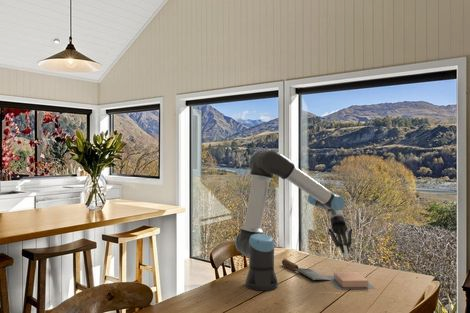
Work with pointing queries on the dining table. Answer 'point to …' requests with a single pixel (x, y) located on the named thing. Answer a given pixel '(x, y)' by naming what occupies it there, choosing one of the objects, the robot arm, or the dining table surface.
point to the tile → (351, 279)
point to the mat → (346, 288)
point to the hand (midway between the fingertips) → (347, 258)
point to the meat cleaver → (305, 271)
